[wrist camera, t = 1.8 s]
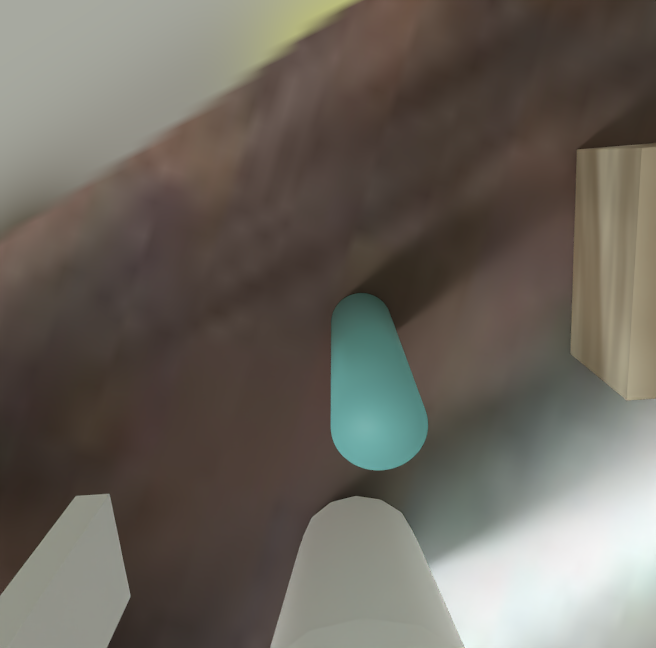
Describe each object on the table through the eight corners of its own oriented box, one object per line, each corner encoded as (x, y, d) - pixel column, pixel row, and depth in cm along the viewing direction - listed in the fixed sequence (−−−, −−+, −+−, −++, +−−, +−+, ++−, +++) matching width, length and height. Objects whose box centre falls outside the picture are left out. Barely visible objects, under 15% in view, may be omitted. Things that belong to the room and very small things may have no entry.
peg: (333, 352, 30) (334, 473, 19) (328, 295, 30) (326, 385, 18) (392, 348, 30) (429, 466, 19) (389, 290, 29) (426, 377, 18)
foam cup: (469, 574, 34) (549, 819, 21) (328, 638, 35) (325, 905, 23) (392, 442, 32) (431, 629, 19) (244, 516, 33) (189, 736, 20)
